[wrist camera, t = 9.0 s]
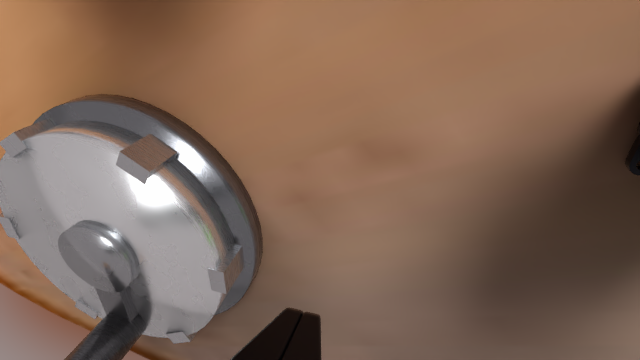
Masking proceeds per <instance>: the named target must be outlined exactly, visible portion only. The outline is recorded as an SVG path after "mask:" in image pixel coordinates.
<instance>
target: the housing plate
mask: <svg viewBox="0 0 640 360" xmlns="http://www.w3.org/2000/svg"><path fill="white" fill-rule="evenodd" d="M51 117H52V118H53V119H54V120H55V121H56V123H57V124H58V125H60V124H63V123H66V122H70V121H80V120H89V121H99V122H104V123H108V124H112V125H116V126H119V127H122V128H124V129H127V130H130V131H132V132H134V133H136V134H138V135H140V136H142V137H145V136H147V135H149V134H150V133H151V134H153V135H154V136H155V137H157V138H158V139H160V140H161V141H163V142H164V143H166V144H167V145H169V146H170V147H171V148H173V149H174V150H176V151H177V155H176V157H175V158H176V159H177V160H178V161H179V162H180V163H182V164H183V165H184V166H185V167H186V168H187V169H188V170H189V171H190V172H191V173H192V174H193V175H194V176H195V177H196V178H197V179H198V180H199V181H200V182H201V184H202V185H203V186H204V187H205V188H206V190H207V191H208V192H209V194H210V195H211V196H212V198H213V199H214V200H215V202H216V203H217V205H218V207H219V208H220V210H221V212H222V213H223V215H224V217H225V219H226V221H227V224H228V226H229V228H230V231H231V234H232V236H233V239H234V243H235V244H236V245H241V246H242V248H243V257H244V268H243V270H242V271H241V273H240V274H239V276H238V278H237V279H236V281H235V282H234V284H233V286H232V287H231V289H230V291H229V292H228V294H227V296H226V297H225V299H224V300H223V302H222V303H221V305H220V306H219V308H218V309H217V311H216V312H215V314H214V315H216V314H219V313H221V312H224V311H226V310H228V309H229V308H231V307H232V306H234V305H235V304H236V303H237V302H238V301H239V300H240V299H241V298H242V297H243V295H244V293H245V292H246V290H247V289H248V287H249V285H250V284H251V282H252V280H253V279H254V277H255V275H256V274H257V271H258V268H259V266H260V263H261V257H262V233H261V227H260V223H259V219H258V216H257V213H256V210H255V207H254V205H253V203H252V200H251V198H250V196H249V194H248V192H247V190H246V189H245V187H244V185H243V183H242V182H241V180H240V179H239V177H238V176H237V174H236V173H235V172H234V170H233V169H232V167H231V166H230V165H229V163H228V162H227V161H226V160H225V159H224V158H223V157H222V156H221V154H220V153H219V152H218V151H217V150H216V149H215V148H214V147H213V146H212V145H211V144H210V143H209V142H208V141H206V140H205V139H204V138H203V137H202V136H201V135H200V134H198V133H197V132H196V131H194V130H193V129H192V128H191V127H189V126H188V125H187V124H185V123H184V122H182V121H181V120H179V119H177V118H176V117H174V116H172V115H171V114H169V113H167V112H165V111H163V110H161V109H159V108H157V107H155V106H153V105H151V104H148V103H145V102H142V101H139V100H136V99H133V98H128V97H123V96H118V95H105V94H99V95H90V96H85V97H81V98H78V99H75V100H72V101H69V102H67V103H64V104H62V105H59V106H56V107H54V108H52V109H50V110H48V111H47V112H45V113H43V114H42V115H41V116H40V117H39V118H38V119H37V120H36V121H35V122H34V123H33V124H36V123H38V122H41V121H43V120H46V119H48V118H51Z"/></svg>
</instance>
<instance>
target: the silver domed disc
mask: <svg viewBox="0 0 640 360" xmlns="http://www.w3.org/2000/svg"><path fill="white" fill-rule="evenodd" d="M0 145H1V146H2V147H3V148H4V149H5V150H6V153H5V154H4V156H3V157H2V159H1V160H0V207H1V210H2V213H1V214H0V222H1V224H2V226H3V228H4V230H5V232H6V234H7V235H8V237H12V238H15V239H16V240H17V242H18V243H19V245H20V246H21V248H22V249H23V251H24V252H25V253H26V254H27V256H28V257H29V258H30V259H31V261H32V262H33V263H34V264H35V265H36V266H37V268H38V269H39V270H40V271H41V272H42V273H43V274H44V275H45V276H46V277H47V278H48V279H49V280H50V281H51V282H52V283H53V284H54V285H55V286H57V287H58V288H59V289H60V290H61V291H62V292H63V293H65V294H66V295H67V296H69V297H70V298H71V299H73V300H74V301H75V302H76V305H75V307H77V308H78V309H80V310H81V311H83V312H85V313H86V314H88V315H89V316H91V317H92V318H94V319H96V318H97V317H100V318H102V320H101V322H100V323H99V324H98V325H97V326H96V327H95V328H94V329H93V330H92V331H91V332H90V333H89V334H88V335H87V336H86V337H85V338H84V339H83V341H81V343H80V344H79V345H78V346H77V347H76V348H75V349H74V350H73V351H72V352H71V353H70V354H69V355H68V356H67V357H66V358H65V359H64V360H122V359H123V357H124V356H125V355H126V354H127V352H128V351H129V350H130V349H131V347H132V346H133V345H134V344H135V342H136V341H137V340H138V339H139V337H140V336H141V335H142V334H143V335H147V336H153V337H162V338H169V339H170V340H171V341H172V342H173V343H174V344H175V343H183V342H191V341H192V339H193V338H194V336H195V335H196V333H197V332H198V331H199V330H200V329H202V328H203V327H205V325H206V324H207V323H208V322H209V321H210V320H211V319H212V317H213V316H214V314H215V312H216V311H217V309H218V308H219V306H220V305H221V303H222V302H223V300H224V299H225V297H226V296H227V294H228V292H229V291H230V289H231V287H232V286H233V284H234V282H235V281H236V279H237V278H238V276H239V274H240V273H241V271H242V270H243V268H244V257H243V248H242V246H241V245H236V244H235V243H234V239H233V236H232V234H231V231H230V228H229V226H228V224H227V221H226V219H225V217H224V215H223V213H222V212H221V210H220V208H219V207H218V205H217V203H216V202H215V200H214V199H213V198H212V196H211V195H210V194H209V192H208V191H207V190H206V188H205V187H204V186H203V185H202V184H201V182H200V181H199V180H198V179H197V178H196V177H195V176H194V175H193V174H192V173H191V172H190V171H189V170H188V169H187V168H186V167H185V166H184V165H183V164H182V163H180V162H179V161H178V160H177V159H176V158H175V157H176V155H177V151H176V150H174V149H173V148H171V147H170V146H169V145H167V144H166V143H164V142H163V141H161V140H160V139H158V138H157V137H155V136H154V135H153V134H151V133H150V134H149V135H147V136H145V137H142V136H140V135H138V134H136V133H134V132H132V131H130V130H127V129H124V128H122V127H119V126H116V125H112V124H108V123H104V122H99V121H89V120H80V121H70V122H66V123H63V124H60V125H58V124H57V123H56V121H55V120H54V119H53V118H52V117H51V118H48V119H46V120H43V121H41V122H38V123H36V124H33V125H31V126H28V127H26V128H23V129H21V130H18V131H16V132H13V133H12V134H11V135H9V136H8V137H6V138H5V139H4V140H2V141H1V142H0Z"/></svg>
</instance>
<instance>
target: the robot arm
mask: <svg viewBox="0 0 640 360" xmlns="http://www.w3.org/2000/svg"><path fill="white" fill-rule="evenodd" d="M637 131H638V133H639V135H638V137H637V139H636V141H635V143H634V145H633V147H632V148H631V150H630V152H629V154H628V156H627V158H626V162H625V164H626V167H627V168H628V169H629V170H630V171H631V172H632V173H633V174H636V175H640V166H636V164H637V163H638V162H639V161H640V123H639V125H638V127H637ZM230 360H321V319H320V315H318V314H314V313H310V312H304V313H303V311H301V310H298V309H294V308H286V309H285V310H284V311H283V312H281V313H280V314H279V315H278V316H277V317H276V318H275V319H274V320H273V321H272V322H271V323H270V324H268V325H267V326H266V327H265V328H264V329H263V330H262V331H261V332H260V333H259V334H258V335H256V336H255V337H254V338H253V339H252V340H251V341H250V342H249V343H248V344H247V345H246V346H245V347H243V348H242V349H241V350H240V351H239V352H238V353H237V354H236V355H235V356H234V357H233V358H231V359H230Z"/></svg>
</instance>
